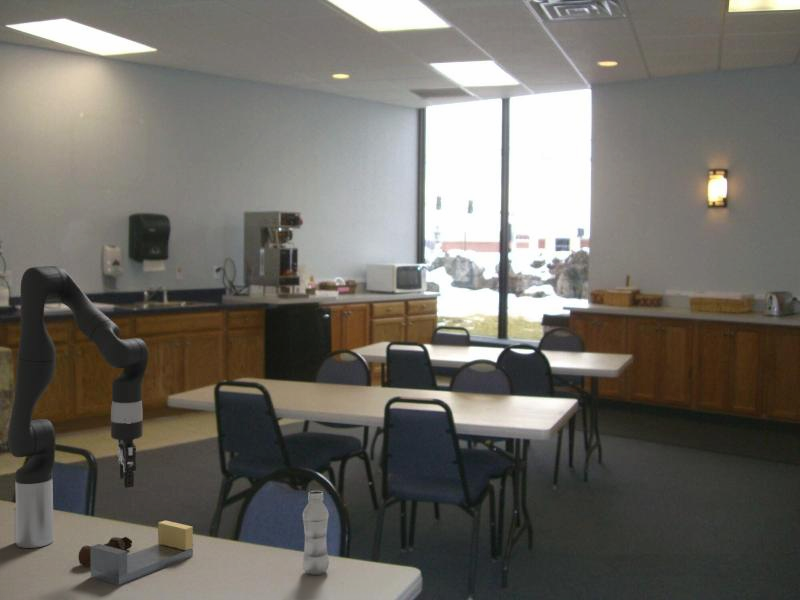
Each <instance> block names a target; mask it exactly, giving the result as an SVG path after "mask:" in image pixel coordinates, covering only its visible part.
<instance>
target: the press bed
mask: <svg viewBox="0 0 800 600" xmlns="http://www.w3.org/2000/svg"><path fill="white" fill-rule="evenodd" d="M193 551H194V547H193V548H191V549H188V550H182V549H178V548H174V547H170V546H166V545H162V544H159V543H157V544H155V545H153V546H150V547H147V548H144V549H141V550H138V551H136V552H133V553H131V554H128V550H120V549H117V548H113V547H109V546H105V545H104V544H101V543H97V544H94V545H91V547H90V558H91V568H90V578H92V579H96V580H98V581H103V582H105V583H106V582H107V583H109V584H113V585H116V586H122V585H125V584H126V583H129V582H131V581H134V580H137V579H139V578H142V577H145V576H146V575H149V574H152V573H154V572H157V571H159V570H162V569H164V568H167V567H169V566H171V565H174V564H177V563H179V562H182V561H184V560H186V558H187V559H189V558H191V556H192V557H193V556H194V552H193Z"/></svg>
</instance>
